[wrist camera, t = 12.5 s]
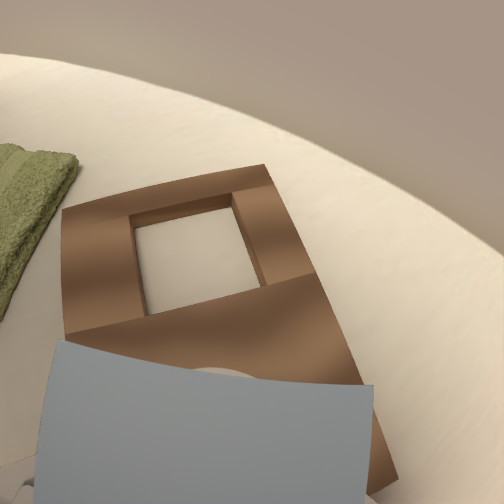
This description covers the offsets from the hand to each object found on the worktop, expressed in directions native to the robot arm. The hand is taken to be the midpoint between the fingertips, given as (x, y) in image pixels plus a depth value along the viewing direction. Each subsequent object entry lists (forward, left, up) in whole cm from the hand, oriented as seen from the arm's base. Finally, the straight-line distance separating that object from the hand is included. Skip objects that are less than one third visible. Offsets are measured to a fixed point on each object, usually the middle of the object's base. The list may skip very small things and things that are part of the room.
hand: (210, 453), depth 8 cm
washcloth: (-19, -15, -10) cm, 27 cm away
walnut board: (-6, +1, -9) cm, 11 cm away
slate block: (+1, 0, -5) cm, 5 cm away
